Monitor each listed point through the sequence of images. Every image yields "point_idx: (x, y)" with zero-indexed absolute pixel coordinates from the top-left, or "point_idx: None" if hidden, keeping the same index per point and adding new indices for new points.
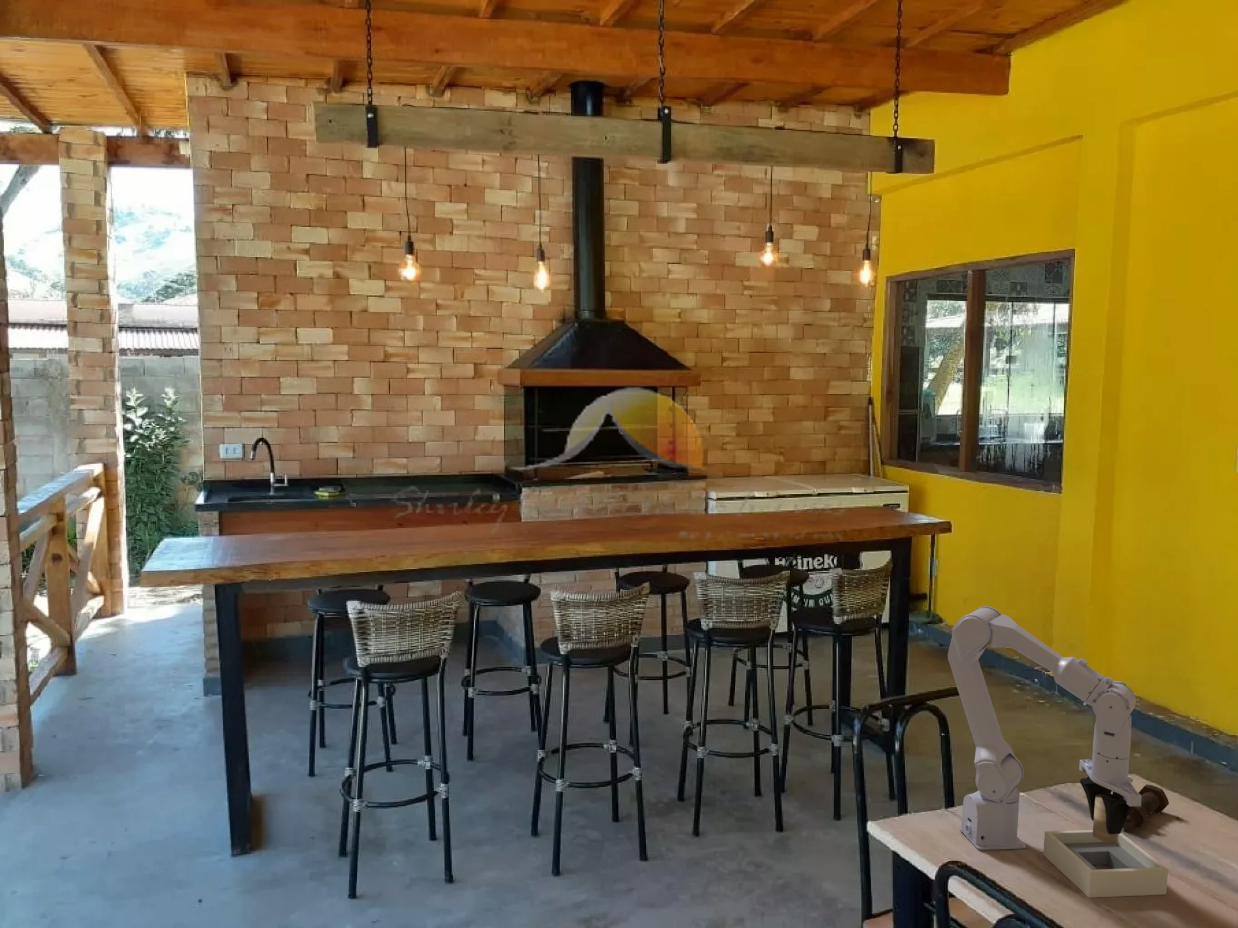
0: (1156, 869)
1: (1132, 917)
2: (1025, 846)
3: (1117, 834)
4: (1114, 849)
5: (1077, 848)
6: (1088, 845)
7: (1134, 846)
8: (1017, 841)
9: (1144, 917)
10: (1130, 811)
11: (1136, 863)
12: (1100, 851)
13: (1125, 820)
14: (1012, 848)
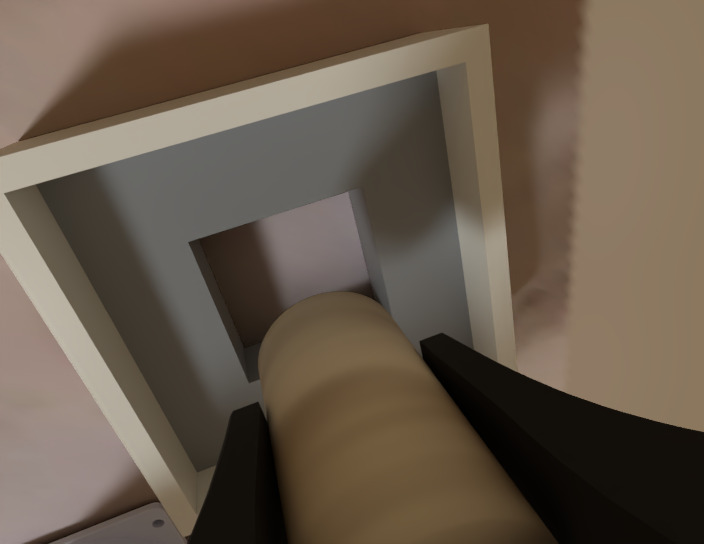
0: (489, 99)
1: (568, 236)
2: (162, 510)
3: (396, 327)
4: (153, 204)
5: (208, 379)
6: (151, 327)
7: (225, 128)
8: (126, 534)
9: (570, 196)
10: (640, 420)
11: (299, 132)
12: (206, 283)
13: (525, 376)
14: (184, 537)
